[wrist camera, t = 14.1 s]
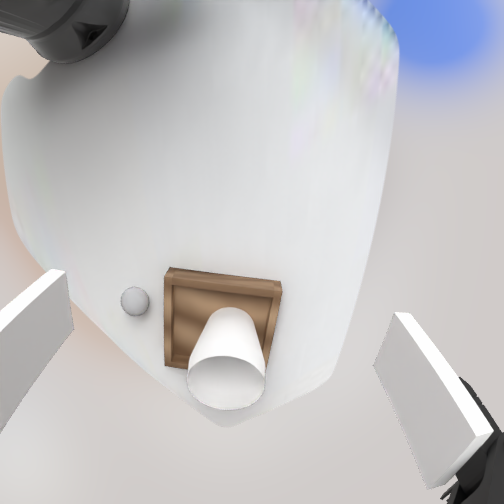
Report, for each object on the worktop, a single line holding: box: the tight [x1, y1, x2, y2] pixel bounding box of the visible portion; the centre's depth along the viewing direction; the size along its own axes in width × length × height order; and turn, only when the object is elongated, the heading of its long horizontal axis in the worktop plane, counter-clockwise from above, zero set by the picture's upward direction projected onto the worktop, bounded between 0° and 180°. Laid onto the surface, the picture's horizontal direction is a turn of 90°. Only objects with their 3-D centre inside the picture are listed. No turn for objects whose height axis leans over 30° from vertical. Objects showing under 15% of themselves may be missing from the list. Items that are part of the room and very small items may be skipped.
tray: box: [164, 267, 282, 372], centre depth 43 cm, size 15×15×3 cm
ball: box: [121, 287, 149, 316], centre depth 41 cm, size 4×4×4 cm
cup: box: [187, 307, 266, 410], centre depth 38 cm, size 9×9×12 cm
